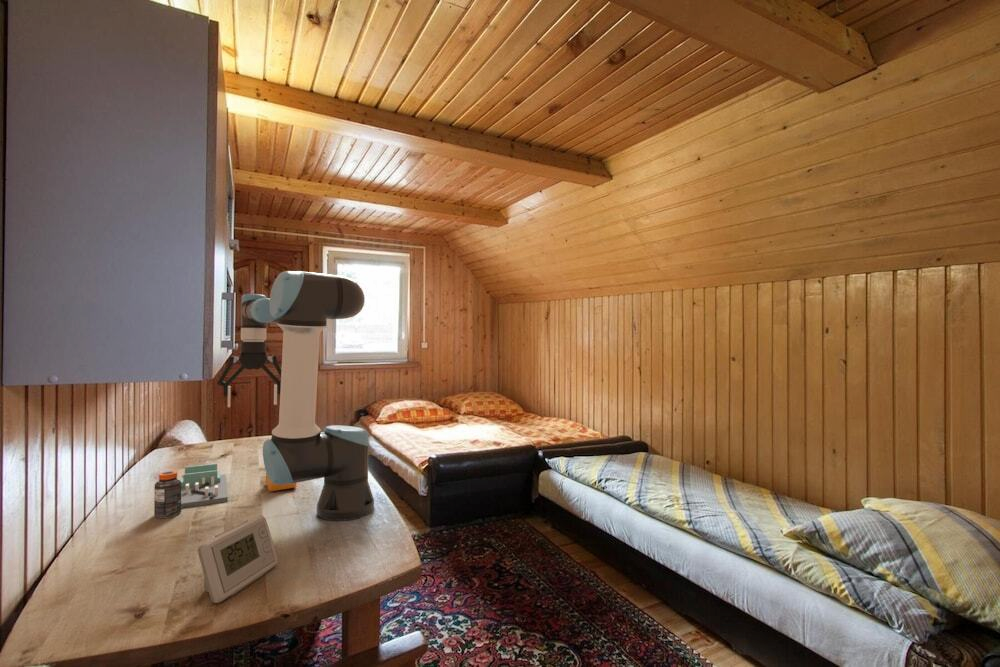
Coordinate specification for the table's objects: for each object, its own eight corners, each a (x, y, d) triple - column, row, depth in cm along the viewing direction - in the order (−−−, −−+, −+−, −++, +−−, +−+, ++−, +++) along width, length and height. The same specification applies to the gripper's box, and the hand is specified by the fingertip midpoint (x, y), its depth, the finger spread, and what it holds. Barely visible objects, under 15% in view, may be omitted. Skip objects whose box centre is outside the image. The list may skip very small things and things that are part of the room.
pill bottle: (181, 509, 132) (182, 468, 132) (180, 516, 126) (181, 473, 127) (155, 513, 128) (155, 471, 129) (152, 520, 123) (153, 476, 123)
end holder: (220, 483, 151) (220, 470, 151) (180, 488, 145) (180, 475, 146) (219, 475, 160) (220, 463, 160) (181, 479, 154) (182, 467, 154)
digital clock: (213, 609, 84) (214, 549, 84) (182, 597, 88) (182, 539, 88) (289, 569, 99) (290, 518, 99) (259, 560, 103) (260, 511, 103)
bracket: (297, 489, 150) (297, 451, 150) (271, 493, 145) (272, 454, 145) (289, 480, 158) (290, 444, 158) (265, 484, 154) (266, 447, 154)
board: (227, 501, 138) (227, 488, 138) (168, 509, 131) (169, 496, 131) (225, 477, 160) (225, 467, 160) (175, 484, 153) (175, 472, 153)
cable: (212, 499, 136) (212, 496, 136) (189, 502, 133) (189, 500, 133) (213, 483, 150) (213, 481, 150) (191, 486, 147) (191, 484, 147)
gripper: (293, 341, 167) (292, 401, 166) (209, 340, 154) (208, 406, 154) (295, 341, 160) (294, 404, 160) (208, 341, 148) (207, 409, 148)
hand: (252, 405), depth 157 cm, fingers open, 13 cm apart
